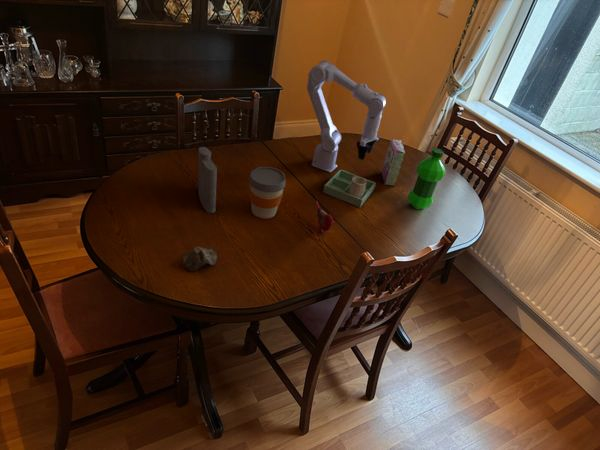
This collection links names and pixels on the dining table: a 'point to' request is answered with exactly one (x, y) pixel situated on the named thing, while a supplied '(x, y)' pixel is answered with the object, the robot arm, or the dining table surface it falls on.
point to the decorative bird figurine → (324, 219)
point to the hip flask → (207, 180)
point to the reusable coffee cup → (266, 191)
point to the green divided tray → (346, 188)
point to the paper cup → (357, 187)
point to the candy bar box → (393, 162)
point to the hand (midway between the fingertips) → (364, 155)
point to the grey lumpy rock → (199, 258)
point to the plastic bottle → (427, 180)
